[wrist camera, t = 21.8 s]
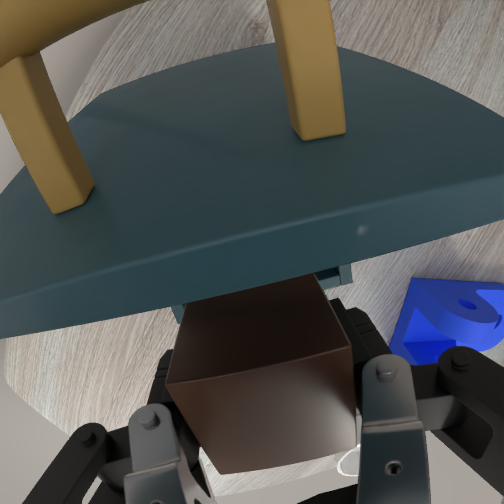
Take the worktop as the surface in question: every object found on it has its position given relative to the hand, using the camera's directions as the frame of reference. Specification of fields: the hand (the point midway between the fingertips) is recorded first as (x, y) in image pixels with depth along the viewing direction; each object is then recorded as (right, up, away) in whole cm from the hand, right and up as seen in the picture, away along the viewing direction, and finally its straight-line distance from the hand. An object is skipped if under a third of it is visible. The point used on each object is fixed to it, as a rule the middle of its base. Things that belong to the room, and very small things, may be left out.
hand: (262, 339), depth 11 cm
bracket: (+24, -4, +20) cm, 31 cm away
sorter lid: (-2, +8, -2) cm, 8 cm away
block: (0, 0, 0) cm, 0 cm away
